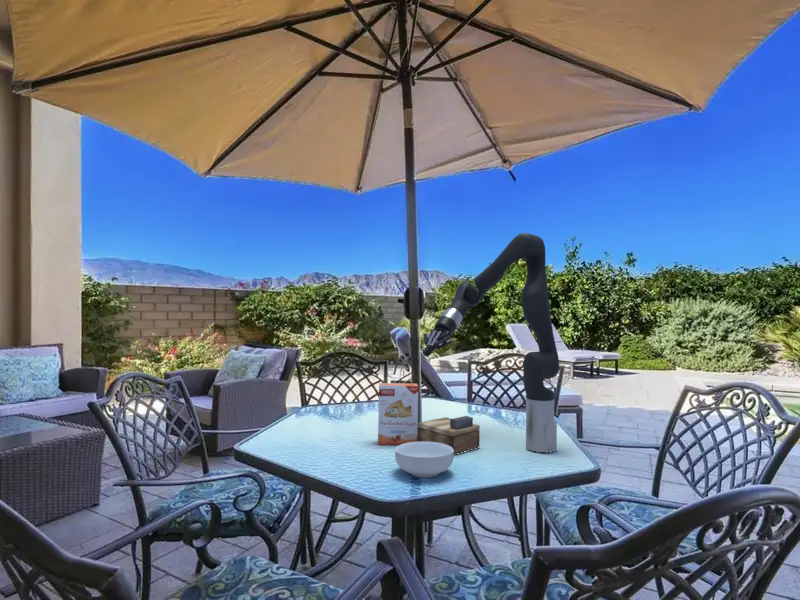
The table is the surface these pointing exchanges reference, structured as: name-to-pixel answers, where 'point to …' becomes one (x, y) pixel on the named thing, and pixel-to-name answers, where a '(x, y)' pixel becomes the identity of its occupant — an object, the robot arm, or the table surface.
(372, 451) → the table surface
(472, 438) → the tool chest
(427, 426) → the beige cabinet door
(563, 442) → the table surface
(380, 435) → the cracker box
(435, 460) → the cereal bowl
